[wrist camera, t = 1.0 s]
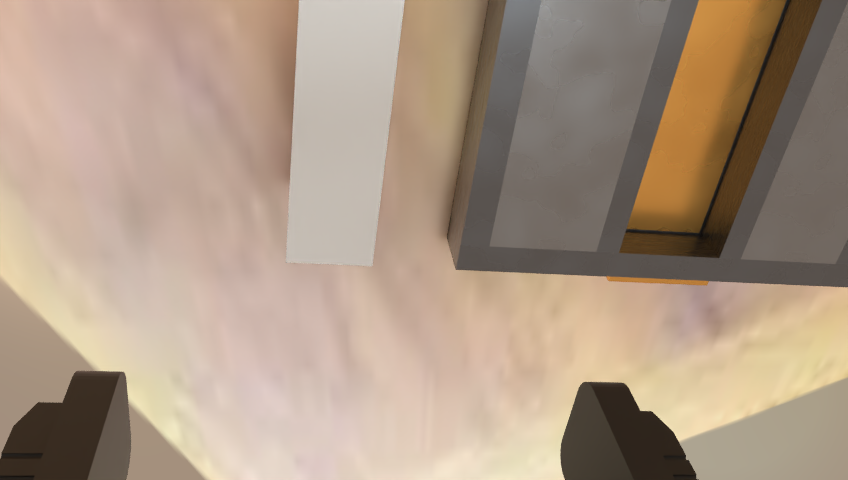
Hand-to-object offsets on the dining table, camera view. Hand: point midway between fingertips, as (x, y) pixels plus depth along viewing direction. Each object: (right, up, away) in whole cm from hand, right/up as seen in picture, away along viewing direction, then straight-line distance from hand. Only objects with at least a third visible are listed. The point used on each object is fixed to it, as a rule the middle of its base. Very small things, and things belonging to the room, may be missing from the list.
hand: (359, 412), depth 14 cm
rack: (+12, +9, +18) cm, 23 cm away
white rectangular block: (-2, +10, +16) cm, 18 cm away
